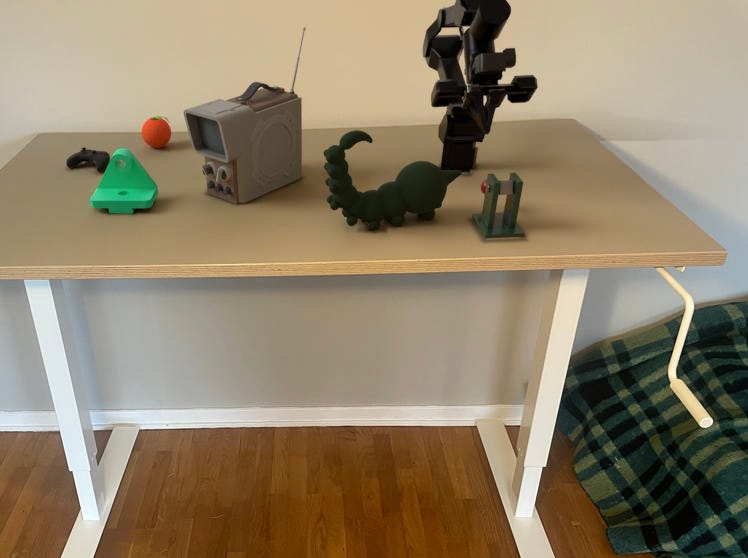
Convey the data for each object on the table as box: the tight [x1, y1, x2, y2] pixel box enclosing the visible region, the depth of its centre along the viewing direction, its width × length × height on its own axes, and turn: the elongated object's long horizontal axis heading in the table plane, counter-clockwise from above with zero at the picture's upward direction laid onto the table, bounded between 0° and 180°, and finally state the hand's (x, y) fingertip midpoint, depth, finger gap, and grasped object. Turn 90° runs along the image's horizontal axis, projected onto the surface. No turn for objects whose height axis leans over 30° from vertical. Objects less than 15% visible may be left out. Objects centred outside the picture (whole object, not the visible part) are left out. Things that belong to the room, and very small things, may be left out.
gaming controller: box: [65, 146, 111, 173], centre depth 164 cm, size 10×5×6 cm
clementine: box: [141, 115, 172, 149], centre depth 172 cm, size 8×7×7 cm
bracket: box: [471, 172, 525, 239], centre depth 131 cm, size 9×7×10 cm
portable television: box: [183, 26, 307, 205], centre depth 144 cm, size 12×24×30 cm, turn 137°
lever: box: [480, 178, 513, 196], centre depth 133 cm, size 11×3×3 cm, turn 2°
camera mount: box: [89, 147, 159, 214], centre depth 143 cm, size 12×8×10 cm, turn 86°
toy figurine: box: [322, 129, 463, 231], centre depth 132 cm, size 9×19×25 cm
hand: (486, 133), depth 137 cm, fingers closed
